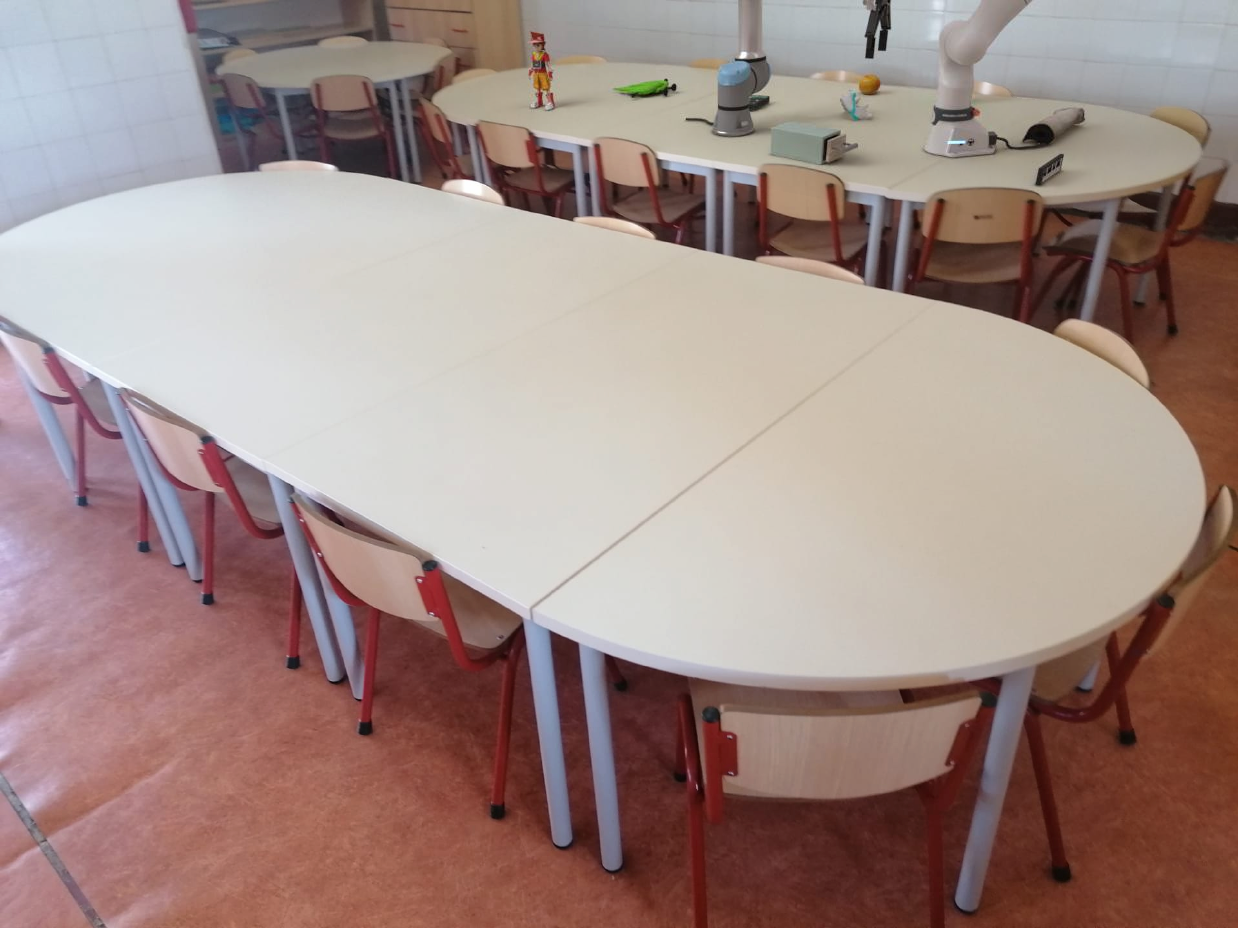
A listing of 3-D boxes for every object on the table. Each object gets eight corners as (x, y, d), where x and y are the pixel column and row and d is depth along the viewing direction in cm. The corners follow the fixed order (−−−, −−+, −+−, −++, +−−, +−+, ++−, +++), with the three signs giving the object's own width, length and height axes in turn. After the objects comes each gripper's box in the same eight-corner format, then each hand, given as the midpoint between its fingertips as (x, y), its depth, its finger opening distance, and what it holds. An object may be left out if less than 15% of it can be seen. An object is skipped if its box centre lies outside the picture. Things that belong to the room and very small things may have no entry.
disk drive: (754, 111, 359) (769, 102, 369) (754, 104, 357) (770, 95, 367) (731, 109, 364) (746, 100, 374) (731, 102, 362) (747, 93, 372)
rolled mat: (1051, 112, 323) (1076, 94, 315) (1065, 133, 323) (1091, 116, 315) (1017, 135, 306) (1043, 117, 298) (1032, 158, 306) (1058, 140, 298)
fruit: (854, 86, 370) (866, 68, 367) (856, 89, 378) (868, 72, 375) (870, 97, 369) (883, 79, 366) (872, 100, 376) (884, 83, 373)
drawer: (858, 158, 298) (860, 137, 294) (842, 165, 293) (844, 143, 289) (796, 146, 313) (797, 126, 309) (780, 153, 308) (781, 132, 304)
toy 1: (525, 109, 381) (517, 32, 364) (534, 104, 388) (527, 28, 371) (550, 110, 377) (543, 32, 360) (559, 105, 384) (553, 28, 367)
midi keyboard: (1039, 185, 269) (1043, 168, 266) (1035, 184, 270) (1038, 168, 267) (1060, 170, 279) (1064, 154, 277) (1056, 169, 280) (1060, 153, 277)
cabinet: (838, 157, 304) (841, 130, 299) (820, 164, 298) (823, 137, 293) (788, 147, 316) (789, 121, 311) (770, 154, 310) (771, 128, 305)
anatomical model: (835, 89, 346) (860, 82, 346) (837, 116, 352) (863, 109, 352) (846, 98, 334) (872, 91, 333) (848, 126, 340) (874, 119, 339)
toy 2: (686, 85, 398) (631, 84, 414) (685, 72, 395) (629, 72, 411) (651, 104, 381) (596, 103, 397) (650, 92, 378) (594, 91, 394)
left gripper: (882, -9, 286) (874, 62, 298) (905, -20, 303) (897, 48, 315) (859, -10, 289) (852, 61, 301) (883, -20, 306) (876, 47, 318)
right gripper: (887, -40, 263) (882, 12, 271) (878, -47, 279) (873, 2, 287) (865, -39, 263) (860, 13, 271) (857, -46, 280) (853, 3, 288)
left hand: (875, 54), depth 308 cm, fingers open, 13 cm apart
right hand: (867, 7), depth 279 cm, fingers open, 8 cm apart
